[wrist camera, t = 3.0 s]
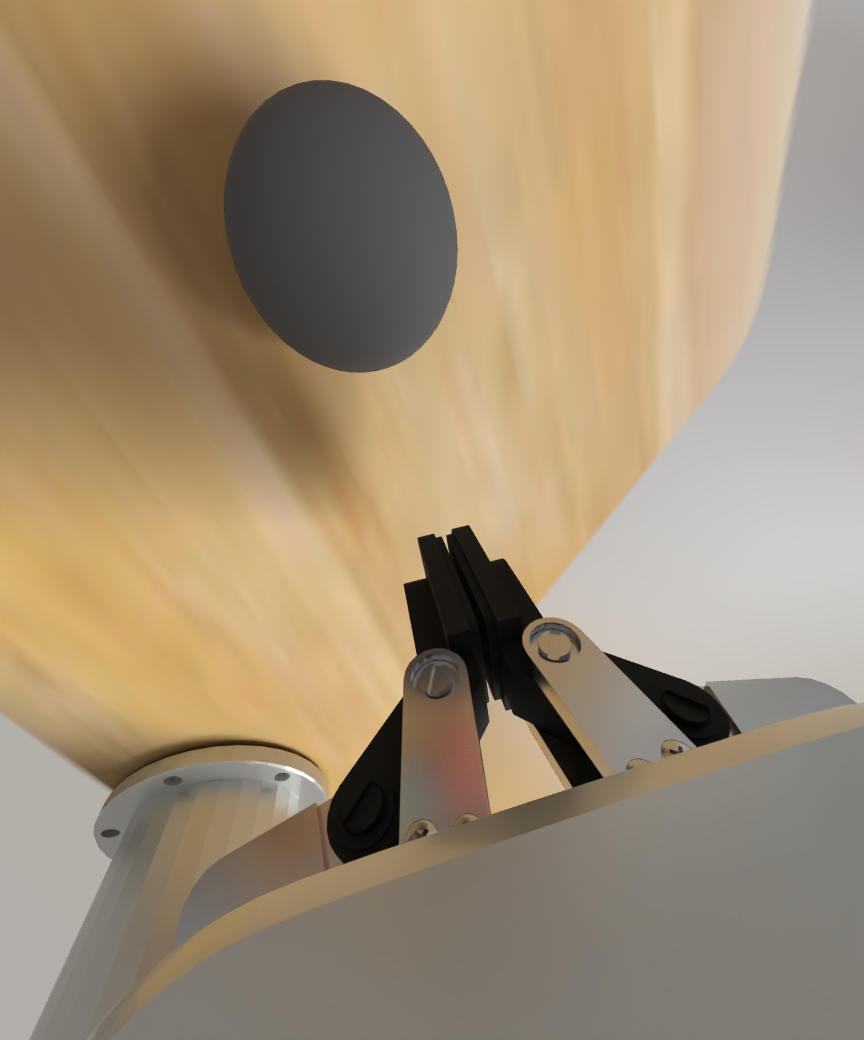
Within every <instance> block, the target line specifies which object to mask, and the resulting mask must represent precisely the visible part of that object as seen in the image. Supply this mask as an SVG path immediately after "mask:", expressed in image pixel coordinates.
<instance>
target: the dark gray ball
mask: <svg viewBox="0 0 864 1040" xmlns="http://www.w3.org/2000/svg"><path fill="white" fill-rule="evenodd" d="M224 215H225V227H226V233H227V238H228V243H229V248H230V252H231V255H232V258H233V261H234V265H235V268H236V270H237V273H238V275H239V278H240V280H241V282H242V285H243V287H244V289H245V291H246V293H247V295H248V296H249V298H250V300H251V302H252V304H253V305H254V307H255V308H256V310H257V311H258V313H259V314H260V315H261V317H262V318H263V320H264V321H265V322H266V323H267V324H268V326H269V327H270V328H271V329H272V330H273V331H274V332H275V333H276V334H277V335H278V336H279V337H280V338H281V339H282V340H283V341H284V342H285V343H286V344H287V345H289V346H290V347H291V348H293V349H294V350H295V351H297V352H298V353H300V354H301V355H303V356H305V357H306V358H308V359H310V360H312V361H314V362H316V363H318V364H321V365H323V366H325V367H329V368H332V369H336V370H339V371H346V372H372V371H378V370H382V369H385V368H389V367H391V366H393V365H396V364H398V363H400V362H402V361H403V360H405V359H407V358H408V357H410V356H411V355H413V354H414V353H415V352H416V351H417V350H418V349H420V348H421V347H422V346H423V345H424V343H425V342H426V341H427V340H428V339H429V338H430V337H431V335H432V334H433V332H434V331H435V329H436V328H437V326H438V325H439V323H440V321H441V319H442V317H443V315H444V313H445V310H446V308H447V305H448V302H449V300H450V297H451V293H452V290H453V286H454V281H455V275H456V268H457V251H458V248H457V231H456V224H455V218H454V212H453V207H452V204H451V200H450V196H449V192H448V189H447V186H446V184H445V181H444V178H443V176H442V173H441V171H440V169H439V167H438V165H437V163H436V161H435V159H434V157H433V155H432V153H431V152H430V150H429V149H428V147H427V145H426V144H425V142H424V141H423V139H422V138H421V137H420V135H419V134H418V133H417V132H416V130H415V129H414V128H413V127H412V125H411V124H410V123H409V122H408V121H407V120H406V119H405V118H404V117H403V116H402V115H401V114H400V113H399V112H398V111H397V110H395V109H394V108H393V107H392V106H390V105H389V104H388V103H386V102H385V101H384V100H382V99H381V98H379V97H377V96H375V95H374V94H372V93H370V92H368V91H366V90H364V89H362V88H359V87H356V86H353V85H351V84H348V83H342V82H337V81H331V80H313V81H308V82H303V83H298V84H295V85H292V86H290V87H288V88H285V89H283V90H281V91H279V92H278V93H276V94H275V95H273V96H272V97H270V98H269V99H267V100H266V101H265V102H264V103H263V104H262V105H261V106H260V107H259V108H258V109H257V110H256V111H255V112H254V113H253V114H252V116H251V117H250V119H249V120H248V122H247V123H246V125H245V126H244V127H243V129H242V131H241V133H240V135H239V137H238V140H237V142H236V144H235V146H234V149H233V153H232V156H231V159H230V163H229V166H228V170H227V176H226V183H225V192H224Z"/></svg>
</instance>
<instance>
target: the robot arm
mask: <svg viewBox="0 0 864 1040" xmlns="http://www.w3.org/2000/svg"><path fill="white" fill-rule="evenodd" d="M446 537H447V543H448V549H449V553H448V550H447V548H446V545H445V543H444V541H443V538H442V537H437V538H436V537H435V535H434V534H430V535H426V536H422V537H418V538H417V539H418V544H419V548H420V552H421V557H422V561H423V566H424V570H425V575H426V578H425V579H421V580H417V581H413V582H409V583H405V584H404V589H405V595H406V600H407V605H408V611H409V616H410V621H411V626H412V632H413V637H414V642H415V648H416V653H417V656H416V657H415V658H414V659H413V660H412V661H411V662H410V663H409V665H408V667H407V669H406V671H405V675H404V685H403V697H402V699H401V700H400V702H399V703H398V704H397V706H396V707H395V709H394V710H393V712H392V713H391V714H390V716H389V717H388V719H387V720H386V721H385V723H384V724H383V726H382V727H381V728H380V730H379V731H378V733H377V734H376V735H375V737H374V738H373V740H372V741H371V743H370V744H369V745H368V747H367V748H366V750H365V751H364V752H363V754H362V755H361V757H360V758H359V759H358V761H357V762H356V764H355V765H354V766H353V768H352V769H351V771H350V772H349V773H348V775H347V776H346V778H345V779H344V781H343V782H342V783H341V785H340V786H339V788H338V790H337V791H336V793H335V795H334V797H333V798H331V799H329V800H328V785H327V780H326V778H325V777H324V775H323V773H322V772H321V770H320V769H318V768H317V767H316V766H315V765H314V764H312V763H311V762H310V761H308V760H306V759H305V758H303V757H301V756H299V755H297V754H294V753H291V752H287V751H284V750H281V749H276V748H270V747H264V746H253V745H227V746H214V747H208V748H202V749H196V750H190V751H187V752H183V753H180V754H176V755H173V756H169V757H167V758H164V759H162V760H159V761H157V762H154V763H152V764H150V765H147V766H145V767H144V768H142V769H140V770H139V771H137V772H135V773H134V774H132V775H130V776H128V777H127V778H126V779H125V780H124V781H123V782H121V783H120V784H119V785H118V786H117V787H116V788H115V789H114V790H113V792H112V793H111V794H110V796H109V797H108V799H107V800H106V802H105V804H104V806H103V808H102V810H101V812H100V814H99V816H98V818H97V820H96V822H95V826H94V837H95V839H96V842H97V844H98V846H99V848H100V849H101V850H102V851H103V852H104V853H105V854H106V856H107V857H109V858H110V859H112V861H111V863H110V866H109V868H108V870H107V872H106V874H105V877H104V879H103V881H102V883H101V885H100V887H99V890H98V892H97V894H96V896H95V898H94V901H93V903H92V905H91V907H90V909H89V911H88V914H87V916H86V918H85V920H84V922H83V924H82V927H81V929H80V931H79V933H78V935H77V938H76V940H75V942H74V944H73V946H72V948H71V950H70V953H69V955H68V957H67V959H66V961H65V964H64V966H63V968H62V970H61V972H60V974H59V977H58V979H57V981H56V983H55V985H54V987H53V990H52V992H51V994H50V996H49V998H48V1001H47V1003H46V1005H45V1007H44V1010H43V1011H42V1014H41V1016H40V1018H39V1020H38V1023H37V1025H36V1027H35V1029H34V1031H33V1033H32V1036H31V1038H30V1040H864V703H859V704H857V703H856V702H854V701H853V700H852V699H850V698H849V697H848V696H847V695H845V694H844V693H842V692H841V691H839V690H837V689H835V688H833V687H831V686H829V685H827V684H825V683H822V682H818V681H816V680H813V679H808V678H798V677H795V678H773V679H753V680H735V681H714V682H706V684H705V686H704V687H698V686H696V685H694V684H692V683H690V682H688V681H685V680H682V679H680V678H676V677H674V676H671V675H668V674H665V673H662V672H659V671H657V670H654V669H651V668H648V667H645V666H642V665H639V664H637V663H634V662H631V661H628V660H625V659H622V658H620V657H617V656H614V655H611V654H608V653H605V652H602V651H601V650H600V649H599V648H598V647H597V646H596V645H595V644H594V643H593V642H592V641H591V640H590V639H589V638H588V637H587V636H586V635H585V634H584V633H583V632H582V631H581V630H580V629H579V628H578V627H576V626H575V625H574V624H572V623H570V622H568V621H566V620H563V619H559V618H543V617H542V615H541V614H540V612H539V611H538V609H537V608H536V606H535V604H534V603H533V601H532V600H531V598H530V597H529V595H528V594H527V592H526V591H525V589H524V588H523V586H522V585H521V583H520V581H519V580H518V578H517V577H516V575H515V574H514V572H513V571H512V569H511V568H510V566H509V565H508V563H507V562H506V560H505V559H503V558H502V559H498V560H494V561H490V560H489V559H488V557H487V555H486V554H485V552H484V550H483V548H482V547H481V545H480V543H479V542H478V540H477V538H476V536H475V535H474V533H473V531H472V530H471V528H470V526H469V525H467V526H463V527H459V528H455V529H452V534H449V535H447V536H446ZM486 680H487V682H488V685H489V688H490V690H491V693H492V696H493V698H494V700H498V699H501V700H502V702H503V705H504V707H505V710H510V709H511V710H512V712H513V714H514V715H516V716H518V717H520V718H522V719H524V720H526V723H527V725H528V727H529V730H530V731H531V733H532V735H533V736H534V738H535V740H536V741H537V743H538V745H539V746H540V748H541V750H542V751H543V753H544V755H545V756H546V758H547V760H548V761H549V763H550V765H551V766H552V768H553V770H554V771H555V773H556V775H557V776H558V778H559V780H560V781H561V783H562V785H563V786H564V788H565V791H562V792H558V793H556V794H552V795H550V796H547V797H543V798H540V799H537V800H534V801H531V802H528V803H525V804H522V805H519V806H516V807H513V808H510V809H506V810H504V811H500V812H497V813H494V814H491V811H490V804H489V798H488V791H487V785H486V778H485V773H484V766H483V759H482V753H481V747H480V740H481V737H482V735H483V734H484V731H485V729H486V727H487V725H488V723H489V716H488V709H487V703H488V702H489V697H488V689H487V683H486Z"/></svg>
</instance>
